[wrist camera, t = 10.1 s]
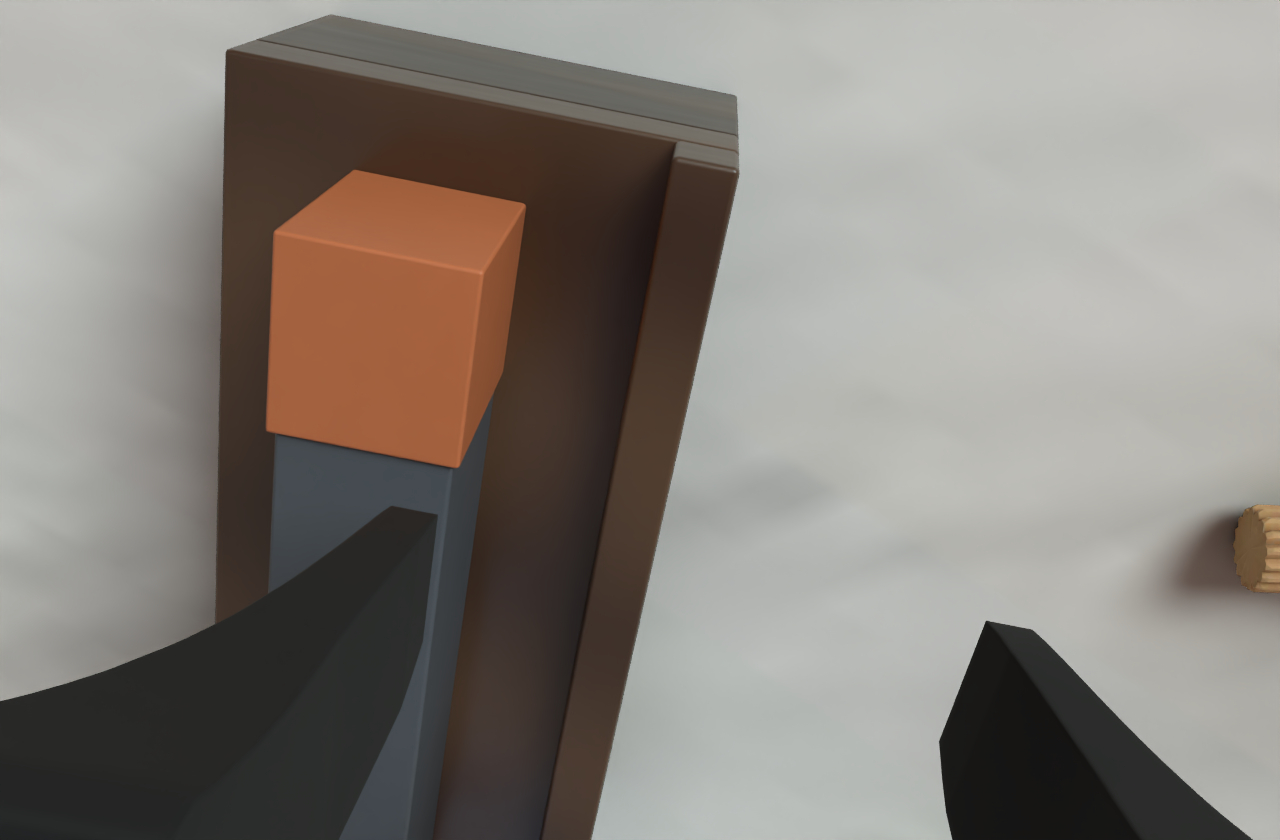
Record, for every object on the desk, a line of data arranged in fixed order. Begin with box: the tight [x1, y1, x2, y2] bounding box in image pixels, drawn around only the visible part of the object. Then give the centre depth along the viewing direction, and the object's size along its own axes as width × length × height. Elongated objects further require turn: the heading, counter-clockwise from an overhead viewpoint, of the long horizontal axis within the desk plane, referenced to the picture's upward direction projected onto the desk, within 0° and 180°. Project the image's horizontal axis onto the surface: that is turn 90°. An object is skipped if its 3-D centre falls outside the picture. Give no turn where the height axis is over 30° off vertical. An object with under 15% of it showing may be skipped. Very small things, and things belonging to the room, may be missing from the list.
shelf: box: [215, 15, 739, 840], centre depth 23 cm, size 18×8×6 cm, turn 170°
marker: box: [266, 170, 526, 840], centre depth 20 cm, size 15×3×4 cm, turn 170°
